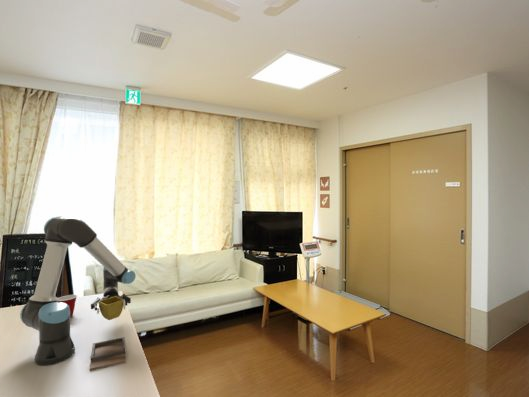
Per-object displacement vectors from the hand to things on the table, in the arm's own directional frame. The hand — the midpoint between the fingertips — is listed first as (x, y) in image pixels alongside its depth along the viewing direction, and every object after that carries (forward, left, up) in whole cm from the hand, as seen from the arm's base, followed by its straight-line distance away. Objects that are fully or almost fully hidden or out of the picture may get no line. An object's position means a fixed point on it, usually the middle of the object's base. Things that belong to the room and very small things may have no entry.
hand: (111, 308), depth 148 cm
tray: (-7, -7, -18) cm, 21 cm away
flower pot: (+2, +3, -6) cm, 7 cm away
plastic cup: (+12, +53, -18) cm, 57 cm away
